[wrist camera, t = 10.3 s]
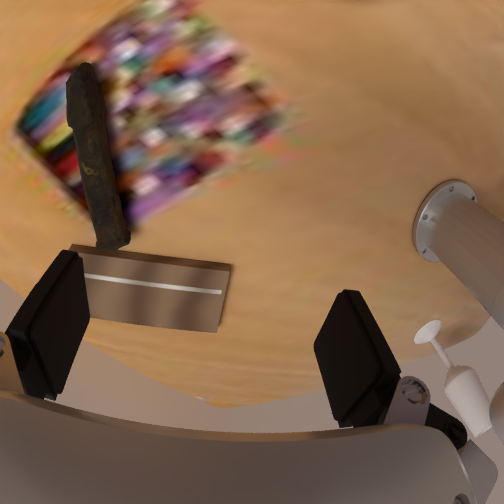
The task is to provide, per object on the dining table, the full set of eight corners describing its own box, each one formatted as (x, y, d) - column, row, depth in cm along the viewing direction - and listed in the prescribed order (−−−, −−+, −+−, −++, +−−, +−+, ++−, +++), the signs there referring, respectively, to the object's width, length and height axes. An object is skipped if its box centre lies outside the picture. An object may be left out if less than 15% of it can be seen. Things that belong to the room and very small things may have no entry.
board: (229, 264, 35) (230, 272, 34) (216, 324, 40) (216, 333, 39) (72, 244, 31) (67, 251, 29) (80, 307, 36) (77, 315, 34)
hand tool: (135, 233, 32) (126, 256, 28) (102, 236, 31) (90, 258, 27) (117, 58, 22) (102, 54, 18) (80, 66, 21) (60, 65, 17)
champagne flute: (446, 318, 49) (509, 411, 28) (431, 342, 52) (484, 433, 32) (424, 320, 47) (489, 424, 27) (408, 345, 51) (463, 445, 30)
